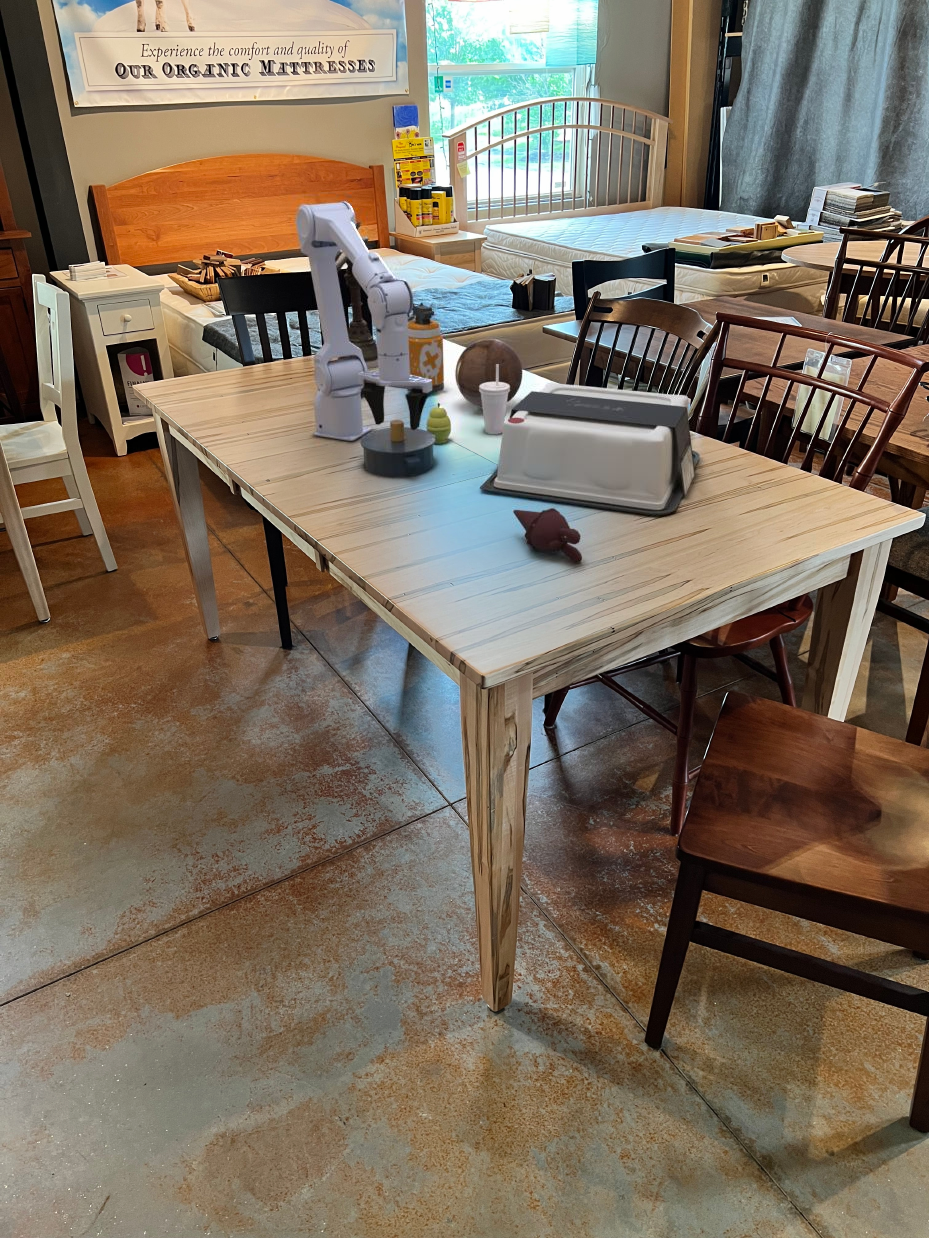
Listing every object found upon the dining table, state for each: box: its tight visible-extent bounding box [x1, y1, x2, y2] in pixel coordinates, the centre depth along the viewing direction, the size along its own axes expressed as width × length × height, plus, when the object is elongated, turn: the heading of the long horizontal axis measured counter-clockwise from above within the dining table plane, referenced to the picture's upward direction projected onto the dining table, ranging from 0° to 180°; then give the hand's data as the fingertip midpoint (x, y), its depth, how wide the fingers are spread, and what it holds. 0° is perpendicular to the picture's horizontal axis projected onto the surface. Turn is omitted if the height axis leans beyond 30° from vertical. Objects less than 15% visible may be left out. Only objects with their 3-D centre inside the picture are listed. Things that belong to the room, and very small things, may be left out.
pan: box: [362, 445, 434, 478], centre depth 166 cm, size 13×19×4 cm
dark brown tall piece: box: [335, 221, 378, 369], centre depth 221 cm, size 17×13×35 cm
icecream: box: [512, 507, 583, 564], centre depth 133 cm, size 7×7×15 cm
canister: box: [406, 302, 445, 396], centre depth 205 cm, size 9×11×20 cm
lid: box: [360, 419, 436, 455], centre depth 164 cm, size 14×14×4 cm
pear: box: [425, 402, 452, 445], centre depth 177 cm, size 5×5×8 cm
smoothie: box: [479, 364, 510, 435], centre depth 180 cm, size 6×6×14 cm
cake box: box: [479, 382, 701, 516], centre depth 159 cm, size 35×33×12 cm
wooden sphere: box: [454, 338, 523, 409], centre depth 194 cm, size 15×15×15 cm
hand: (397, 425), depth 163 cm, fingers open, 7 cm apart
